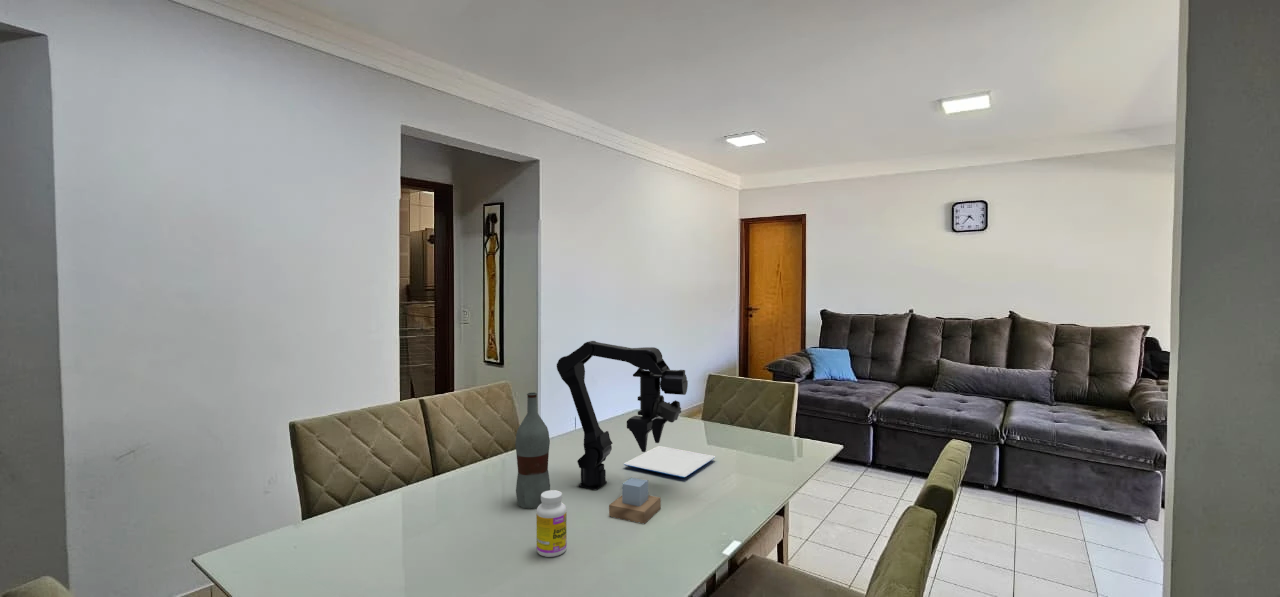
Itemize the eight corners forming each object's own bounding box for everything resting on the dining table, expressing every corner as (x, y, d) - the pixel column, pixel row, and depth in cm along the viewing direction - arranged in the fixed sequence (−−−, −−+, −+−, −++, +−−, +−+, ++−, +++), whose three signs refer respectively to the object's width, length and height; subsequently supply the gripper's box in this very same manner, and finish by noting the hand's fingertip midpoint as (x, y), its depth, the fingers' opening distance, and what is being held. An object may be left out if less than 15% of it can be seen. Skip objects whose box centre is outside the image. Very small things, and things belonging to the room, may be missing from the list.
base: (609, 516, 140) (609, 505, 140) (627, 502, 149) (626, 491, 149) (644, 523, 136) (644, 511, 136) (660, 508, 145) (660, 497, 145)
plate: (716, 461, 183) (716, 455, 183) (684, 482, 164) (684, 476, 164) (658, 451, 195) (658, 445, 195) (622, 469, 176) (622, 463, 176)
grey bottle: (534, 493, 156) (533, 388, 155) (557, 500, 151) (556, 392, 150) (508, 504, 148) (507, 394, 147) (532, 512, 143) (531, 398, 142)
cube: (622, 503, 141) (622, 483, 141) (631, 496, 146) (631, 477, 146) (639, 506, 139) (639, 486, 139) (648, 499, 144) (648, 480, 144)
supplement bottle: (553, 561, 118) (552, 502, 118) (530, 553, 122) (529, 496, 121) (572, 548, 124) (572, 492, 123) (550, 541, 127) (549, 486, 127)
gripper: (663, 401, 143) (663, 461, 144) (688, 388, 160) (689, 442, 161) (625, 398, 148) (625, 455, 149) (653, 386, 165) (654, 437, 166)
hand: (650, 447), depth 156 cm, fingers open, 9 cm apart
